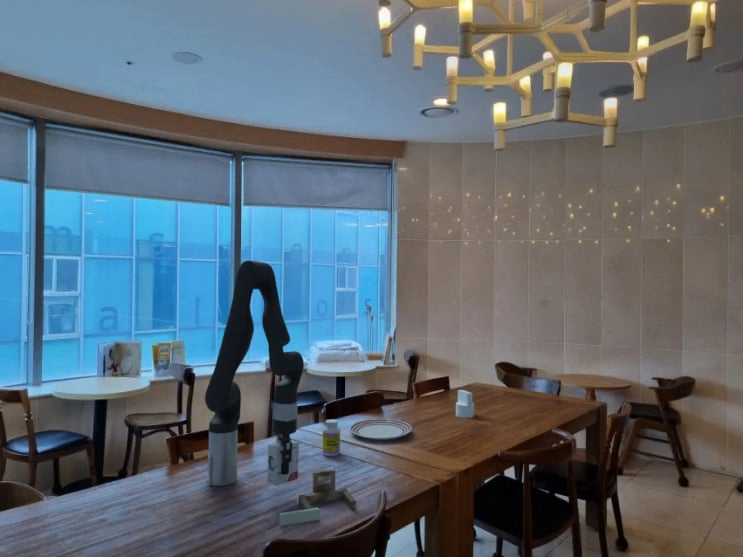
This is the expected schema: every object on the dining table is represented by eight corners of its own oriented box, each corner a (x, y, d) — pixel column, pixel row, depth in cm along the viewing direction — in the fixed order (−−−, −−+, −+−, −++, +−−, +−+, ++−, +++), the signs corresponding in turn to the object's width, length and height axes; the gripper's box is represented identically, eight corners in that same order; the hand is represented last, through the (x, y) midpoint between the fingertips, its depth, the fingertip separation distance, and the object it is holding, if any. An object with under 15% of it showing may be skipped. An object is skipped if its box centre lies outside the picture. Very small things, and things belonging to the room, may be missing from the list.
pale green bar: (280, 526, 142) (280, 515, 142) (279, 524, 143) (279, 513, 143) (319, 519, 146) (319, 509, 146) (317, 517, 147) (318, 507, 147)
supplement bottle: (324, 457, 197) (324, 423, 197) (321, 451, 203) (321, 419, 203) (341, 456, 199) (341, 422, 199) (337, 450, 205) (338, 418, 205)
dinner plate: (387, 448, 209) (387, 440, 209) (336, 435, 225) (336, 428, 225) (423, 433, 230) (423, 425, 230) (374, 422, 247) (374, 415, 247)
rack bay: (306, 516, 147) (306, 488, 147) (296, 500, 159) (297, 474, 159) (355, 509, 153) (356, 482, 153) (343, 493, 164) (343, 468, 164)
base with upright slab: (452, 414, 263) (452, 390, 263) (466, 412, 266) (467, 389, 266) (462, 418, 254) (462, 394, 254) (477, 416, 258) (477, 392, 258)
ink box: (289, 475, 165) (290, 438, 165) (298, 479, 161) (300, 441, 161) (266, 481, 159) (267, 443, 159) (275, 486, 155) (276, 447, 155)
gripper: (269, 410, 165) (267, 462, 165) (276, 423, 152) (274, 480, 152) (292, 409, 168) (290, 460, 168) (301, 422, 154) (299, 477, 154)
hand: (282, 469), depth 160 cm, fingers closed on ink box, 6 cm apart
